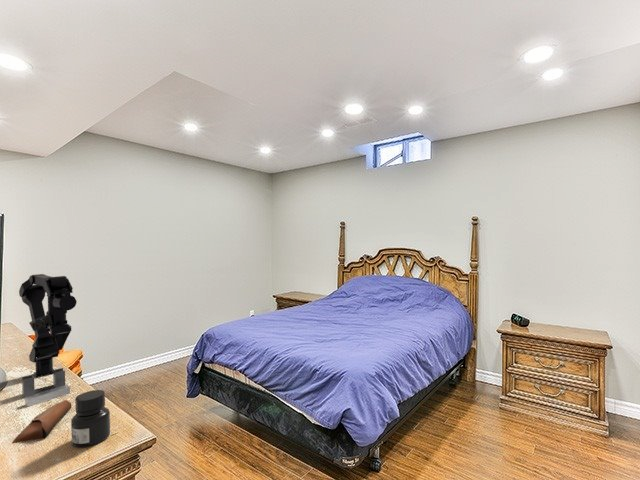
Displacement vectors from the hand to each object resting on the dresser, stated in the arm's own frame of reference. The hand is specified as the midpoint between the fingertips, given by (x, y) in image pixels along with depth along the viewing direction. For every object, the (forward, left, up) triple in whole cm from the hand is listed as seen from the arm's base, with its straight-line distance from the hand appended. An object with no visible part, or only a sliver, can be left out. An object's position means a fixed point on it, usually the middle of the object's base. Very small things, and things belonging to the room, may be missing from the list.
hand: (58, 347), depth 139 cm
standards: (+8, -5, -13) cm, 16 cm away
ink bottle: (+59, -1, -13) cm, 60 cm away
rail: (+18, -5, -13) cm, 23 cm away
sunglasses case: (+40, -9, -14) cm, 43 cm away
